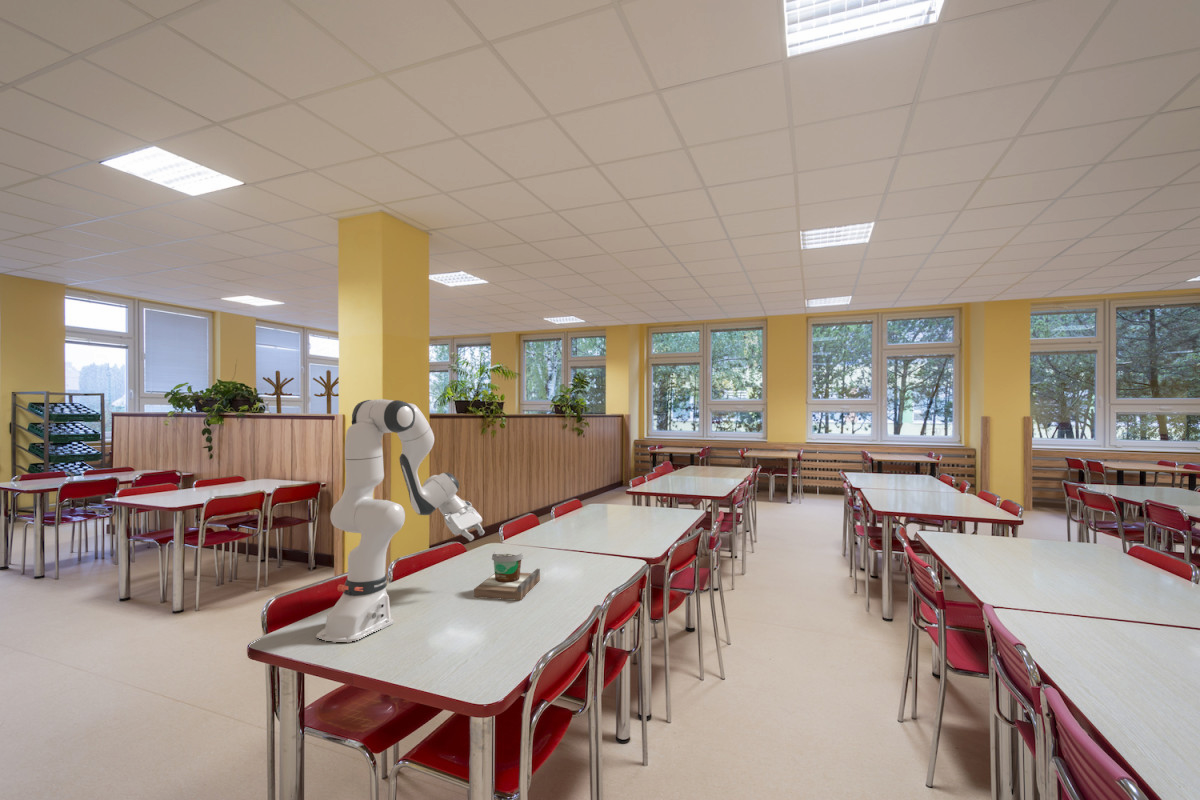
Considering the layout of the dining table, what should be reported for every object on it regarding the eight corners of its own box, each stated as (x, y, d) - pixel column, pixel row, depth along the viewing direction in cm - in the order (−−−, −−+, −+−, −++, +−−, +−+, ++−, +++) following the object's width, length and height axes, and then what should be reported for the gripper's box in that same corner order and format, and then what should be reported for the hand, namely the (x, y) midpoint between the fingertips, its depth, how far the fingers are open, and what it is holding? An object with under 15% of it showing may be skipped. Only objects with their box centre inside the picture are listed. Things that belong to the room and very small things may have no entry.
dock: (520, 600, 181) (521, 586, 181) (473, 597, 184) (474, 583, 185) (539, 581, 203) (539, 568, 203) (497, 578, 206) (497, 566, 206)
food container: (486, 582, 191) (486, 555, 191) (492, 577, 197) (493, 551, 198) (517, 584, 189) (517, 557, 189) (522, 579, 195) (523, 553, 195)
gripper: (447, 509, 188) (471, 537, 186) (471, 501, 208) (493, 526, 206) (436, 520, 189) (460, 548, 187) (461, 511, 209) (483, 536, 207)
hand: (477, 536), depth 197 cm, fingers open, 8 cm apart
